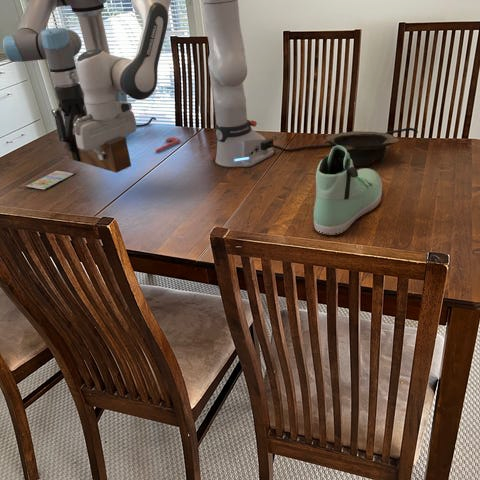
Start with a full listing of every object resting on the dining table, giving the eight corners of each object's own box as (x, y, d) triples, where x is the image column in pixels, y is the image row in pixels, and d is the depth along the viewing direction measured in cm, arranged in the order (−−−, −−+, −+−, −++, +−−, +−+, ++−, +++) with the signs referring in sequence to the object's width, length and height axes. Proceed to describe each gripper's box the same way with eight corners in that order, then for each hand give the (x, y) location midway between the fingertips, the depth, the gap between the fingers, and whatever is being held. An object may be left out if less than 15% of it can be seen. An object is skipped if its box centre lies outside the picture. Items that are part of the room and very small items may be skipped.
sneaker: (389, 187, 148) (396, 123, 138) (356, 242, 123) (361, 168, 112) (346, 181, 154) (350, 119, 144) (306, 232, 129) (307, 161, 118)
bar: (69, 158, 157) (62, 132, 152) (84, 152, 161) (78, 126, 156) (116, 172, 144) (110, 144, 139) (131, 166, 148) (125, 137, 143)
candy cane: (146, 151, 191) (146, 147, 190) (171, 139, 201) (171, 135, 200) (157, 153, 188) (157, 150, 187) (182, 141, 198) (182, 137, 197)
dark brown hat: (355, 177, 156) (355, 149, 151) (311, 159, 176) (310, 134, 172) (413, 158, 165) (414, 132, 160) (364, 143, 185) (364, 119, 180)
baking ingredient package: (25, 185, 168) (56, 169, 179) (25, 186, 168) (56, 171, 180) (43, 188, 164) (74, 172, 176) (44, 190, 165) (74, 173, 176)
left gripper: (46, 93, 136) (67, 169, 148) (100, 78, 148) (115, 149, 160) (32, 91, 140) (53, 164, 152) (85, 76, 152) (100, 145, 164)
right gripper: (79, 122, 131) (91, 169, 138) (135, 102, 144) (143, 146, 151) (65, 119, 134) (77, 165, 141) (121, 100, 148) (130, 142, 155)
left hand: (85, 156), depth 156 cm, fingers closed on bar, 6 cm apart
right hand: (112, 155), depth 146 cm, fingers closed on bar, 6 cm apart
